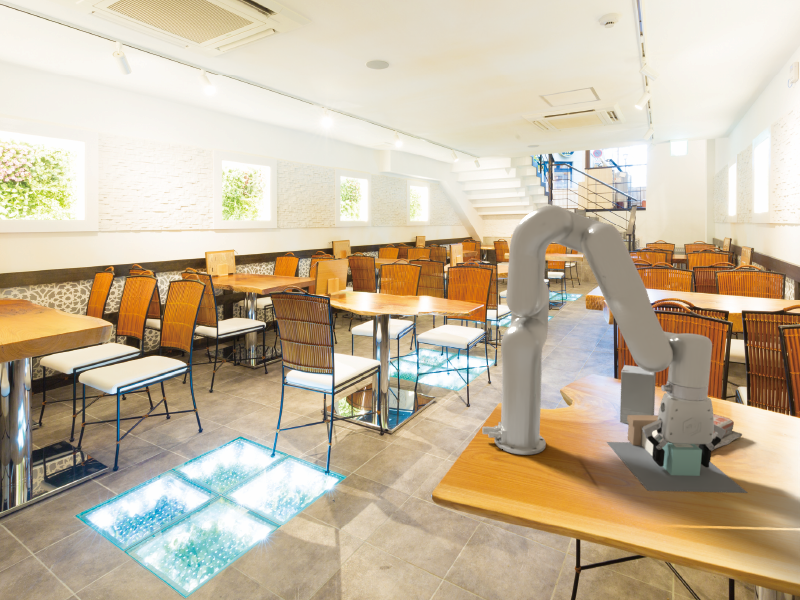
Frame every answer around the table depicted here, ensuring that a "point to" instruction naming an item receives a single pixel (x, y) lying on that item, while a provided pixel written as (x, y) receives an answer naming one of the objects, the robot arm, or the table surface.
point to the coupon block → (640, 430)
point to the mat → (663, 480)
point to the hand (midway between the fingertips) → (680, 463)
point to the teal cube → (682, 459)
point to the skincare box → (636, 392)
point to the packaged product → (726, 425)
